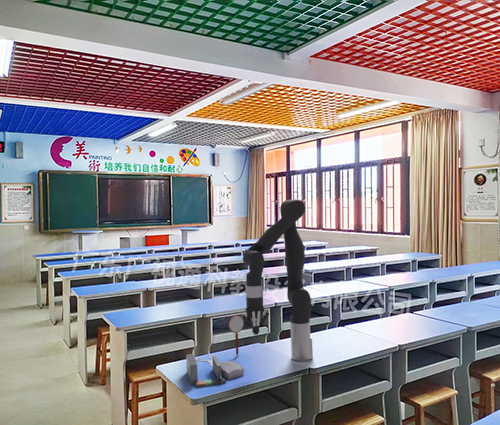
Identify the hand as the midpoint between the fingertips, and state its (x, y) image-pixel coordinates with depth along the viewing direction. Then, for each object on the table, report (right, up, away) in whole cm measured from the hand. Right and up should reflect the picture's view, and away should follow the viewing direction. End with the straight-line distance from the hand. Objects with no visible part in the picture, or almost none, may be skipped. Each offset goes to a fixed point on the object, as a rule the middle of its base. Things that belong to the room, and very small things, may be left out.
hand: (255, 334), depth 184 cm
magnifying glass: (-9, -16, +18) cm, 26 cm away
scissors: (-21, -17, +11) cm, 29 cm away
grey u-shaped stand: (-22, -16, -8) cm, 28 cm away
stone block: (-11, -17, -3) cm, 20 cm away
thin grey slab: (-16, -16, -7) cm, 24 cm away
